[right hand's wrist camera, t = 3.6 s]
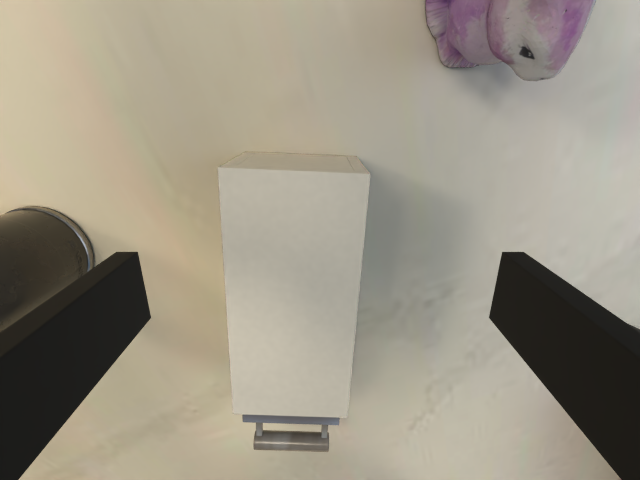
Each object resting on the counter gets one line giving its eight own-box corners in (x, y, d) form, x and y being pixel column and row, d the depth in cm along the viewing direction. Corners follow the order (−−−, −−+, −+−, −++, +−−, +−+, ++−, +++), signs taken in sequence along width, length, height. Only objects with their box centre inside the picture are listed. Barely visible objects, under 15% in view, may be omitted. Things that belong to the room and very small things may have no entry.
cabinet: (341, 350, 39) (347, 418, 31) (251, 347, 39) (232, 414, 31) (357, 156, 32) (370, 173, 23) (245, 151, 32) (217, 167, 23)
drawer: (332, 408, 41) (335, 466, 35) (256, 406, 41) (244, 464, 34) (348, 195, 32) (356, 217, 25) (250, 191, 32) (232, 212, 25)
